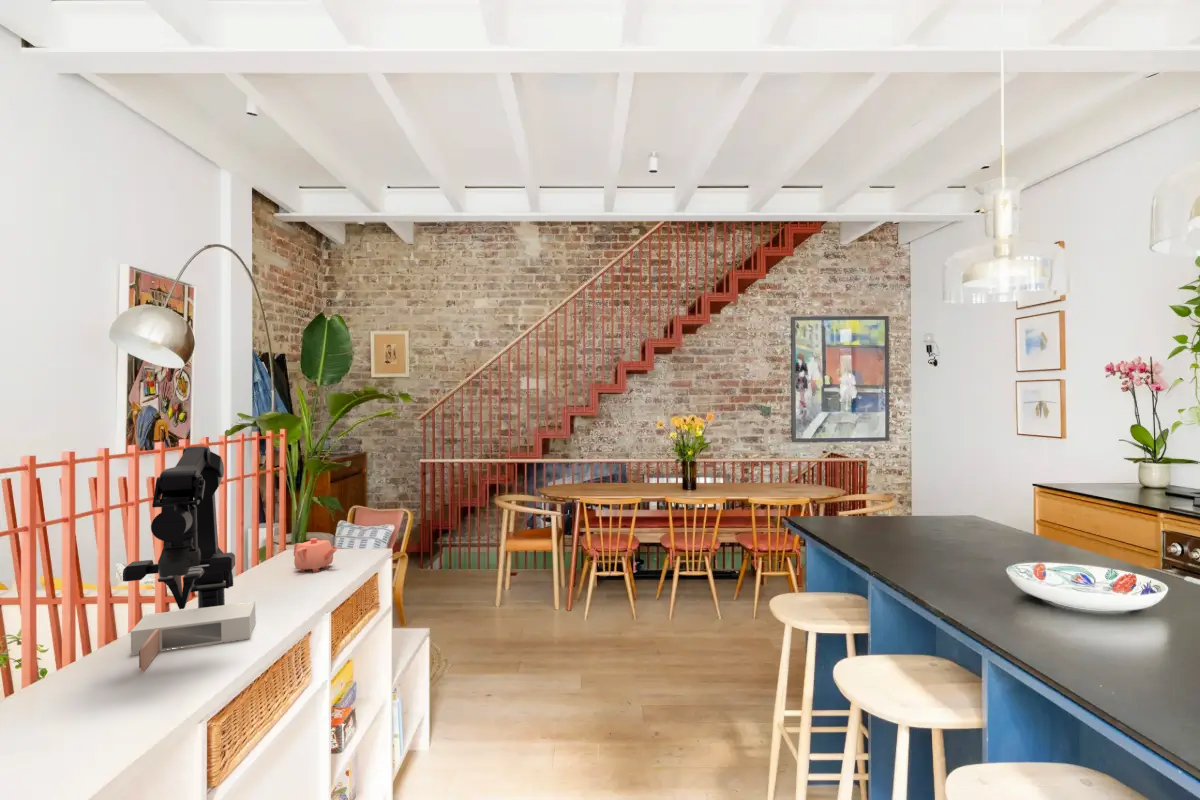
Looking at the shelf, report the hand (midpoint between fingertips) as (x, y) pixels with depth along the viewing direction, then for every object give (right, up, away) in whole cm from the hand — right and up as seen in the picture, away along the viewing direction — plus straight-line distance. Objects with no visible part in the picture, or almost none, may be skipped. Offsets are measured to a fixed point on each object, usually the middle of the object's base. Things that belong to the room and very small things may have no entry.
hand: (182, 608), depth 134 cm
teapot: (-5, -11, +73) cm, 74 cm away
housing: (-5, -11, +13) cm, 18 cm away
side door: (-6, -10, 0) cm, 12 cm away
